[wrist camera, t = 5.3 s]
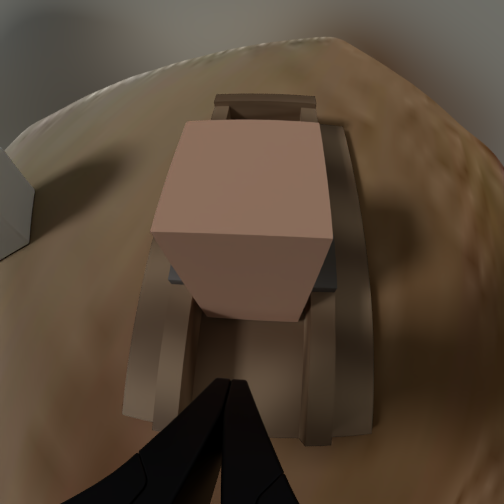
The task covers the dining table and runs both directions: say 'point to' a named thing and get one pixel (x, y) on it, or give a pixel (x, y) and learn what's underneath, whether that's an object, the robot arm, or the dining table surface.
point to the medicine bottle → (14, 207)
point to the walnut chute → (267, 332)
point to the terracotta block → (247, 216)
